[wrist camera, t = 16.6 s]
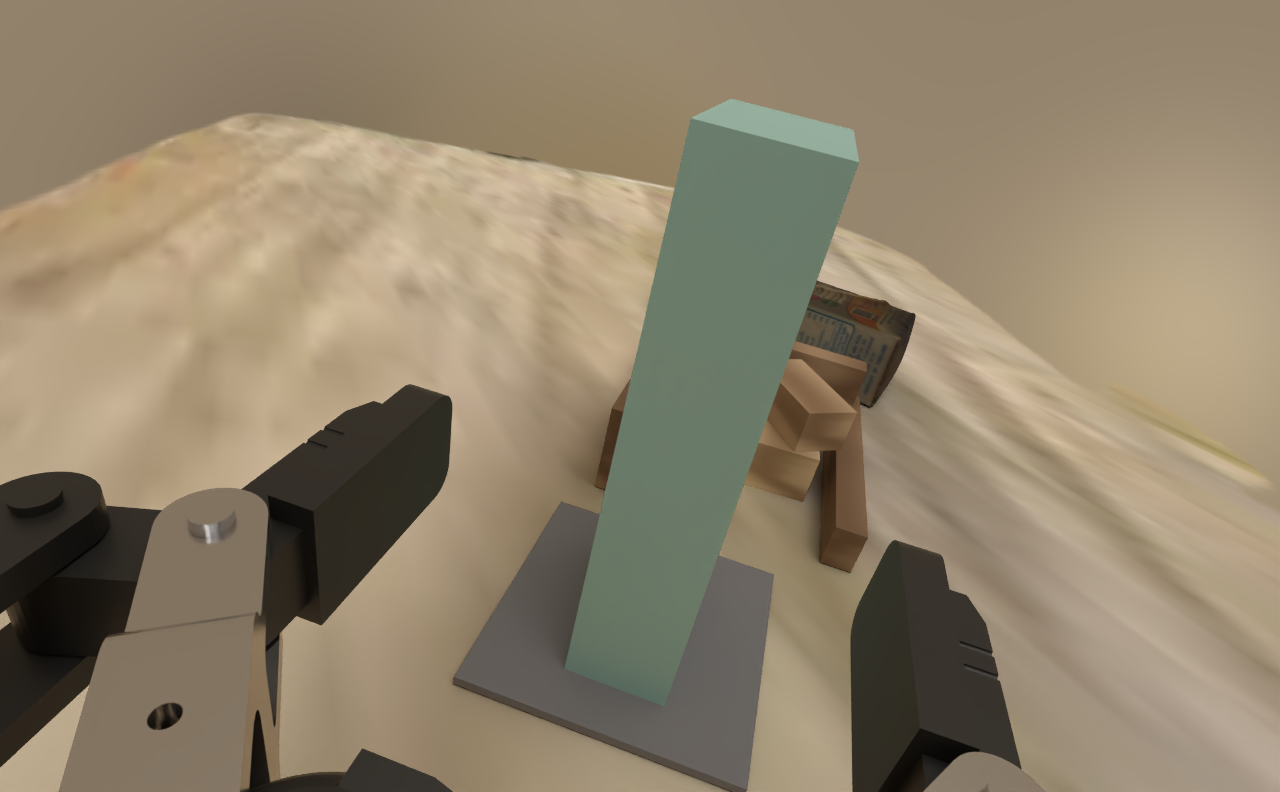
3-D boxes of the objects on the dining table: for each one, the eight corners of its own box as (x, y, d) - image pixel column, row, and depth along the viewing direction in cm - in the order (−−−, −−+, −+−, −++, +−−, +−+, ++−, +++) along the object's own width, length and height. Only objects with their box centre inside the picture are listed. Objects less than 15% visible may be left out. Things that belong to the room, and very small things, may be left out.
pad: (771, 580, 33) (773, 574, 33) (744, 796, 23) (747, 789, 23) (560, 507, 34) (561, 501, 34) (453, 683, 25) (454, 676, 25)
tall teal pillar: (697, 579, 31) (853, 129, 21) (664, 706, 25) (858, 162, 15) (616, 551, 32) (731, 98, 22) (564, 669, 26) (690, 118, 16)
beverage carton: (692, 299, 63) (711, 231, 60) (892, 380, 57) (925, 309, 54) (654, 322, 57) (672, 248, 54) (875, 415, 51) (910, 337, 48)
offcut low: (801, 442, 45) (817, 402, 44) (801, 504, 39) (820, 460, 38) (749, 427, 45) (763, 386, 44) (741, 486, 39) (757, 442, 38)
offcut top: (788, 394, 44) (801, 359, 42) (840, 450, 39) (857, 412, 38) (746, 394, 42) (758, 358, 41) (794, 452, 38) (809, 413, 36)
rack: (847, 425, 48) (873, 364, 45) (850, 572, 35) (888, 496, 32) (660, 367, 50) (676, 305, 47) (594, 486, 36) (611, 408, 34)
